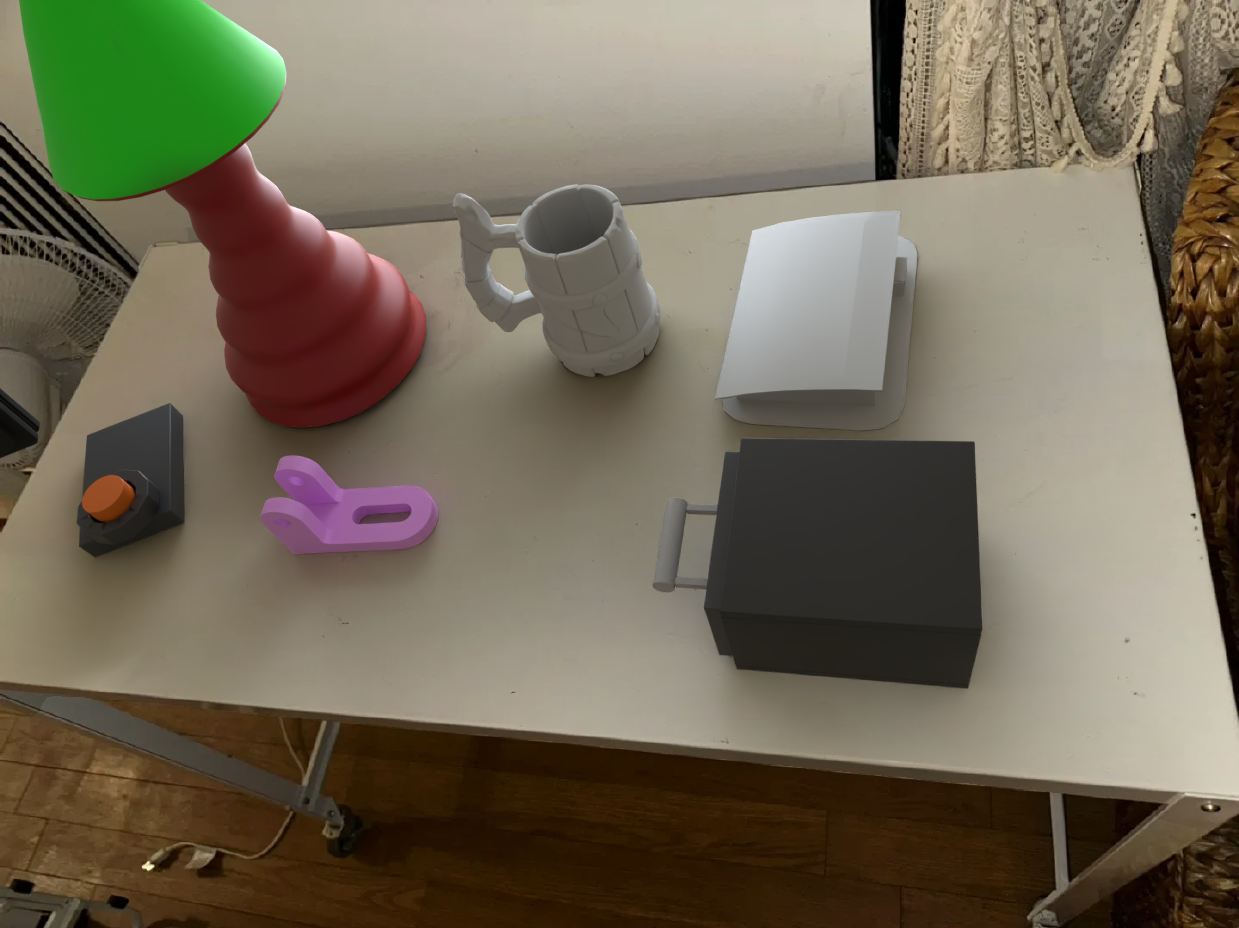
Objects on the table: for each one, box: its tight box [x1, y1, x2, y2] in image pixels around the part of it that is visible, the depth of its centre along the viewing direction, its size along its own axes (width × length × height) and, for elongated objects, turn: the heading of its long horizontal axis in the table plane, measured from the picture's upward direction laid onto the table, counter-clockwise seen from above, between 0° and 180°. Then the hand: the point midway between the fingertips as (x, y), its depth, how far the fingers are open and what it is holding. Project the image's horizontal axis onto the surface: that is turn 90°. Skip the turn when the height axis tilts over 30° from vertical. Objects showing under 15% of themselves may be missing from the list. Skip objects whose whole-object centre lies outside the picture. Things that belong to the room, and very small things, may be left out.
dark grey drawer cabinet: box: [720, 437, 984, 690], centre depth 63 cm, size 16×14×10 cm
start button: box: [81, 475, 135, 522], centre depth 83 cm, size 4×4×2 cm
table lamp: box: [18, 0, 427, 429], centre depth 76 cm, size 20×20×45 cm
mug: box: [452, 183, 662, 378], centre depth 81 cm, size 11×17×17 cm, turn 82°
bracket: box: [259, 455, 439, 555], centre depth 78 cm, size 13×6×7 cm, turn 86°
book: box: [714, 210, 918, 432], centre depth 81 cm, size 15×23×4 cm, turn 167°
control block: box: [76, 402, 185, 558], centre depth 87 cm, size 15×9×4 cm, turn 18°
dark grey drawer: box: [651, 451, 739, 657], centre depth 64 cm, size 19×12×8 cm, turn 80°
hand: (17, 442), depth 58 cm, fingers closed
